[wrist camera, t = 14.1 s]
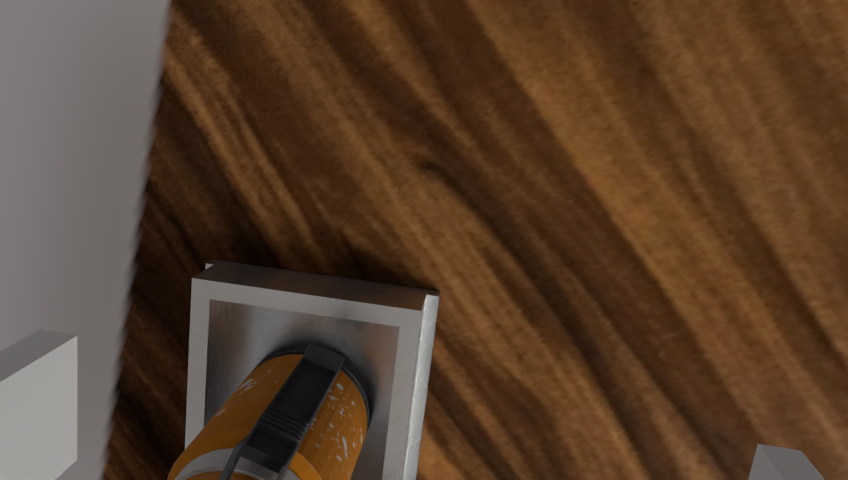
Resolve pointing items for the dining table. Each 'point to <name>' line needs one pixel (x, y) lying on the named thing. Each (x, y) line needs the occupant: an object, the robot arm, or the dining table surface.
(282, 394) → the canister
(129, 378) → the dining table surface
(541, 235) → the dining table surface
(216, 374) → the grey holder tray
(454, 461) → the dining table surface
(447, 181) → the dining table surface
